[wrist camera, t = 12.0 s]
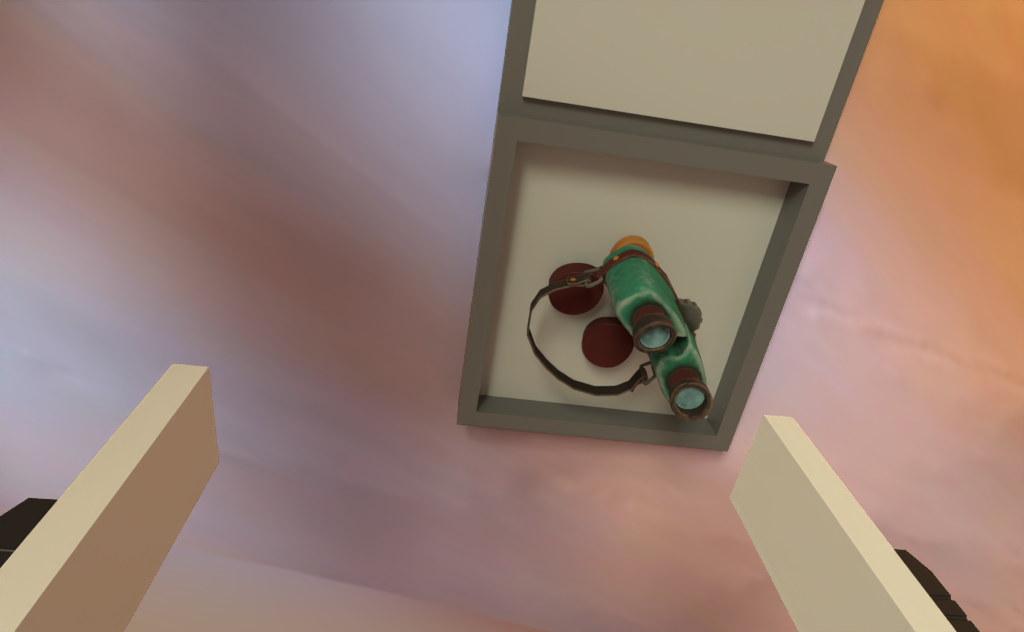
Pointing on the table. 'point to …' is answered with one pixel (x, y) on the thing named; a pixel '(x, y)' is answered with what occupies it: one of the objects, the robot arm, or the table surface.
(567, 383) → the binoculars
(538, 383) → the case
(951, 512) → the table surface
